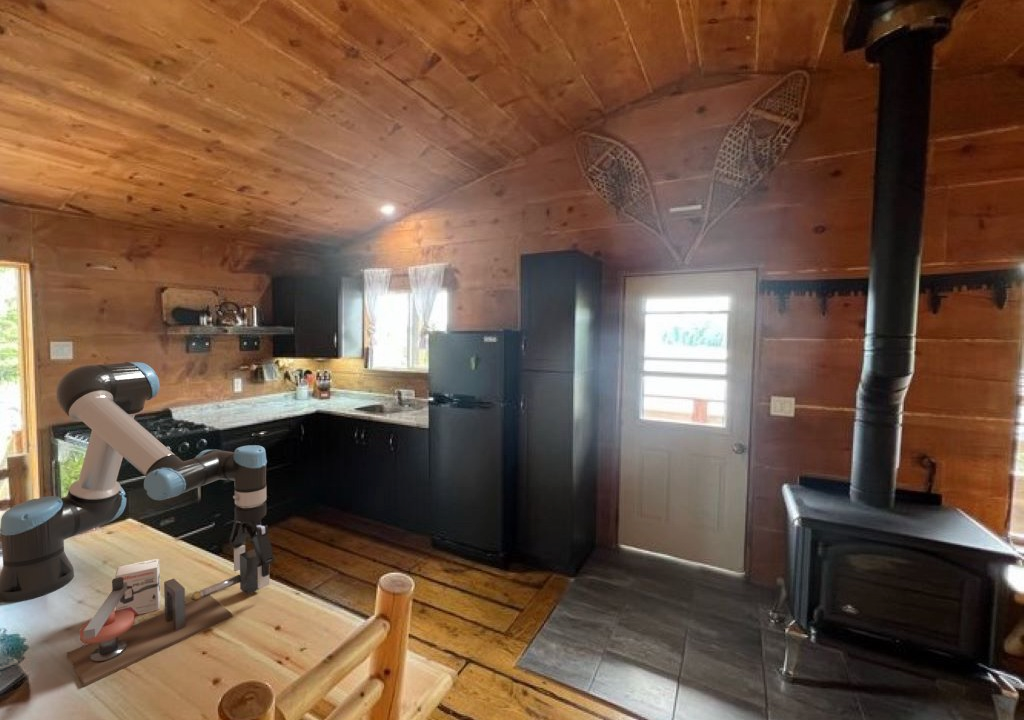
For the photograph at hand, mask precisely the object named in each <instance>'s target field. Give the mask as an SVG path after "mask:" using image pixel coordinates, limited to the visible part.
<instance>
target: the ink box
mask: <svg viewBox="0 0 1024 720" xmlns="http://www.w3.org/2000/svg"><path fill="white" fill-rule="evenodd" d="M160 574H161V570H160V559H159V558H153V559H148V560H145V561H138V562H135V563H130V564H129V563H128V564H125V565H121V566H118V567H117V569H116V572H115V576H114V579H115V578H118V577H123V580H124V582H127V590H126V592H125V593H124V595H123V596H122V598H121V599H120V601H119V602H118V604H117V605H116V607H115V611H117V610H130V611H132V612H133V613H134V617H135V616H139V615H143V614H146V613H150V612H155V611H159V610H160V604H161V575H160Z"/></svg>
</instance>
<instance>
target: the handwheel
mask: <svg viewBox="0 0 1024 720" xmlns="http://www.w3.org/2000/svg"><path fill="white" fill-rule="evenodd" d="M111 584H112V587H111V589H112V590H111V592H110V594H108V596H107V598H106V599H105V600H104V602H103V603H102V604H101V605H100V607H99V608H98V609H97V611H96V613H95V614H94V616H93V617H92V618H91V619H90V620H88V621H87V622H85V623H84V624H83V625H82V626H81V627H80V629H79V640H80V642H81V643H83V644H86V645H87V644H93V643H100V642H104V641H107V640H110V639H113V638H115V637H118V636H120V635H121V634H123V633H125V632H126V631H128V630H129V629H130V628H131V627H132V626H133V625H135V616H134V613H133V612H132V611H130V610H117V611H116V605H117V604H118V602H119V601H120V599H121V598H122V596H123V595H124V593H125V592H126V590H127V582H124V580H123V577H118V578H115V577H114V579H112V581H111Z"/></svg>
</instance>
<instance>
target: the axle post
mask: <svg viewBox="0 0 1024 720" xmlns="http://www.w3.org/2000/svg"><path fill="white" fill-rule="evenodd" d="M126 647H127V644H126V642H125V641H118V637H115V638H113V639H110V640H107V641H104V642H100V643H99V647H98V648H97V649H95V650H94V651H93V652H92V653H91V656H90V659H91V661H92V662H97V663H98V662H104V661H108V660H111V659H113V658H115V657H117V656H119V655H120V654H122V653H123V652H124V651H125V650H126Z"/></svg>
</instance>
